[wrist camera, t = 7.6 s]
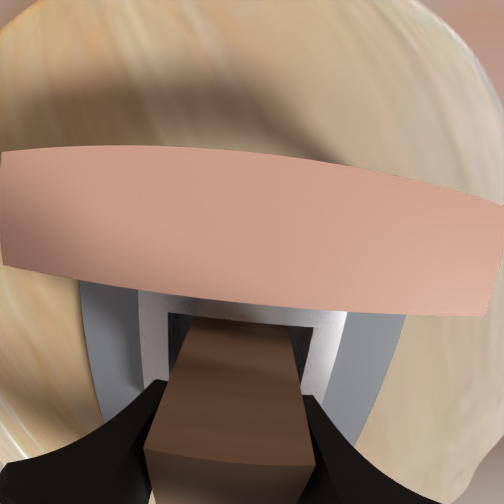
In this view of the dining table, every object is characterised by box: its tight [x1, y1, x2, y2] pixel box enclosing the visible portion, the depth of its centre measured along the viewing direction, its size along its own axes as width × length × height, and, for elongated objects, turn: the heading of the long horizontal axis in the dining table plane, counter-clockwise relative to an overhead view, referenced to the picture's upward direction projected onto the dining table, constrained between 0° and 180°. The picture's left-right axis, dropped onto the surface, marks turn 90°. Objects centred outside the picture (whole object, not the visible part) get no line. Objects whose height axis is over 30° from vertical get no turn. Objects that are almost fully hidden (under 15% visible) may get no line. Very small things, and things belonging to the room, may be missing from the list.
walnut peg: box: [143, 316, 316, 504], centre depth 10 cm, size 4×4×8 cm
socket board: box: [0, 145, 504, 447], centre depth 11 cm, size 16×16×8 cm
